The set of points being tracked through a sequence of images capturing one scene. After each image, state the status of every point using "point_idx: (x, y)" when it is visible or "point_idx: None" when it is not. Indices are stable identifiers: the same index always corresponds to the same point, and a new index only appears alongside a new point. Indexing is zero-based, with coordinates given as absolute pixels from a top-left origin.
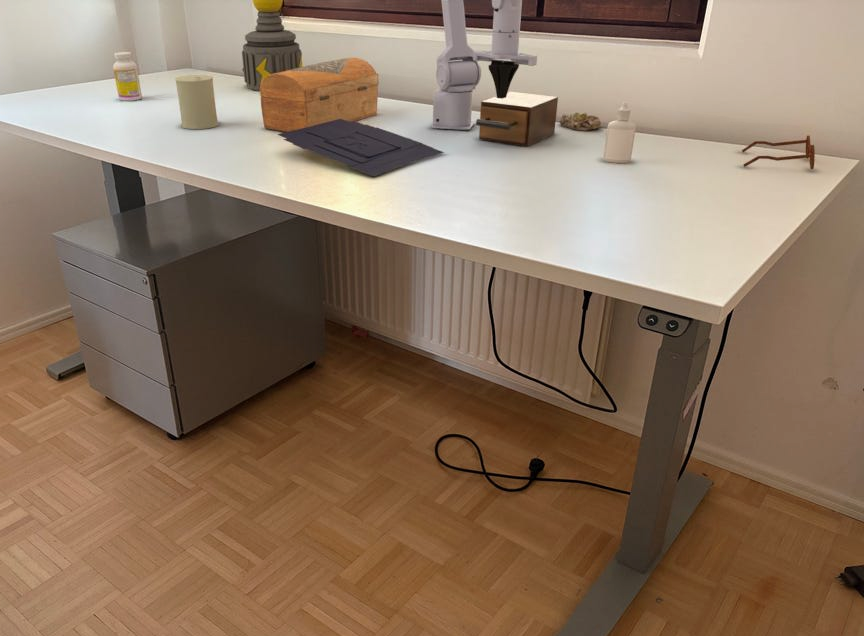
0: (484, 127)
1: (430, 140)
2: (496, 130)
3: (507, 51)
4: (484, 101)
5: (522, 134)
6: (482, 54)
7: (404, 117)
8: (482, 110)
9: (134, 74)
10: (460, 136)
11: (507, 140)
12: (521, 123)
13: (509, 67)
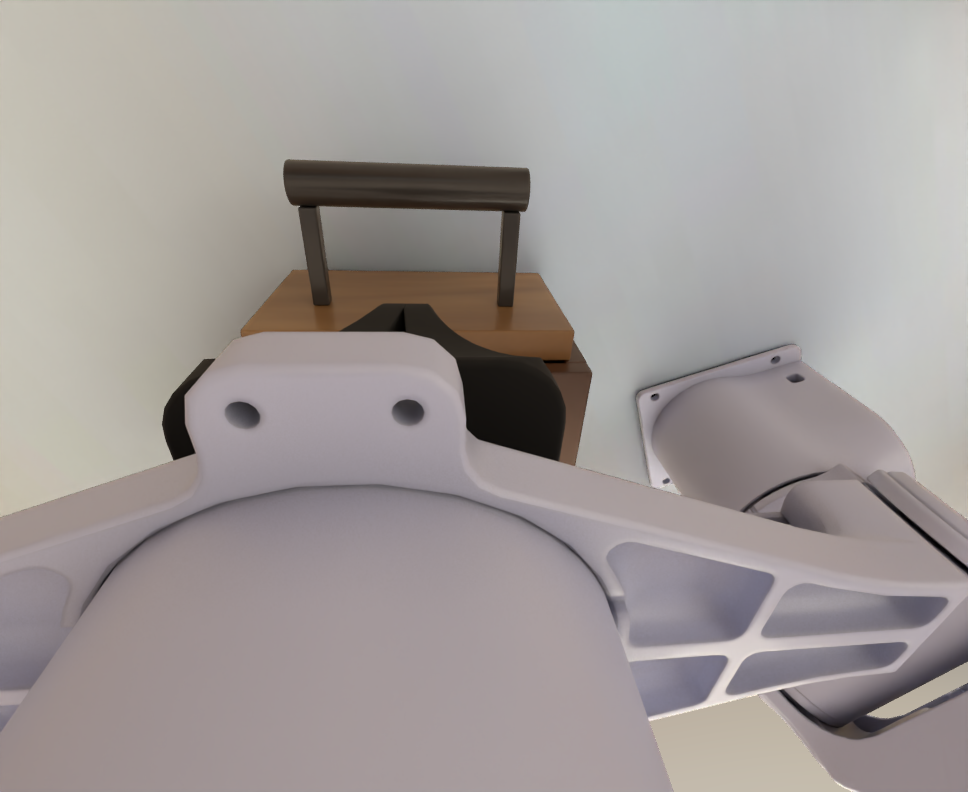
0: (519, 288)
1: (759, 136)
2: (445, 284)
3: (76, 630)
4: (571, 379)
5: (288, 282)
6: (769, 534)
7: (931, 439)
8: (555, 321)
9: None
10: (640, 293)
11: (381, 271)
12: (285, 303)
13: (174, 399)
